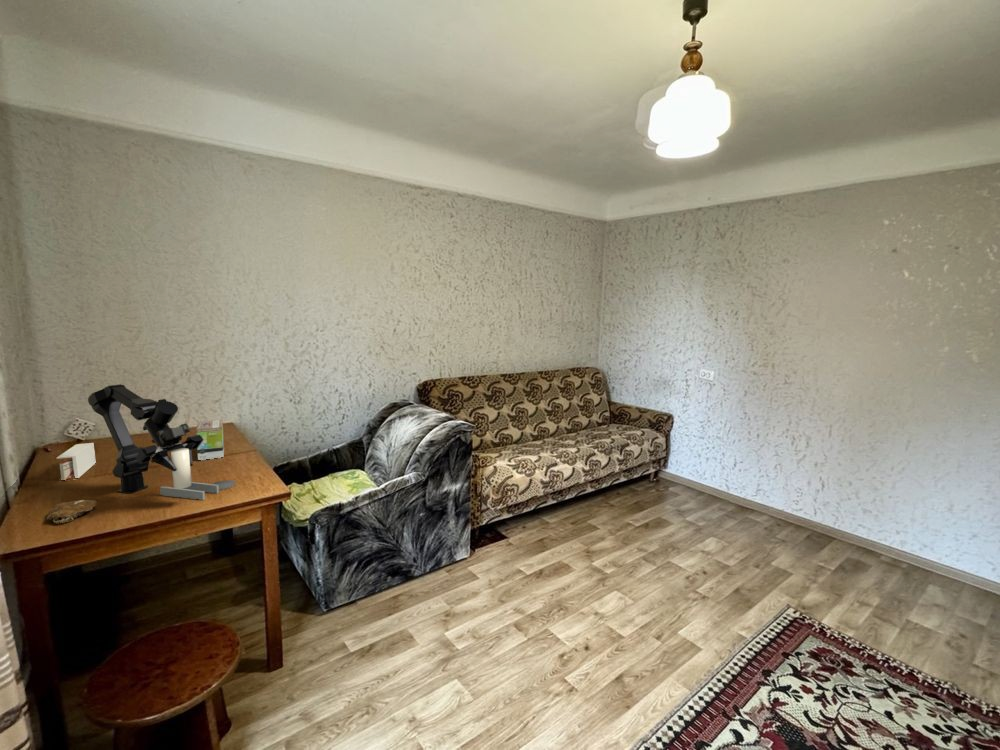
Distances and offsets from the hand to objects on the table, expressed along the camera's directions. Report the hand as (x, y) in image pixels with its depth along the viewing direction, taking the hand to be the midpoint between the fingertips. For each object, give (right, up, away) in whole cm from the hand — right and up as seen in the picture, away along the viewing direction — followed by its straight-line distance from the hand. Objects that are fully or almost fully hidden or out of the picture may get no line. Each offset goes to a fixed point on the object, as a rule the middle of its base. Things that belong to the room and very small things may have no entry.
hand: (183, 468), depth 149 cm
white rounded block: (-1, -6, +2) cm, 7 cm away
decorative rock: (-31, -14, -6) cm, 35 cm away
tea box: (-26, -6, +54) cm, 60 cm away
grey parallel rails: (-6, -12, +11) cm, 17 cm away
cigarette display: (-64, -8, +29) cm, 71 cm away
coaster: (+1, -11, +19) cm, 22 cm away
